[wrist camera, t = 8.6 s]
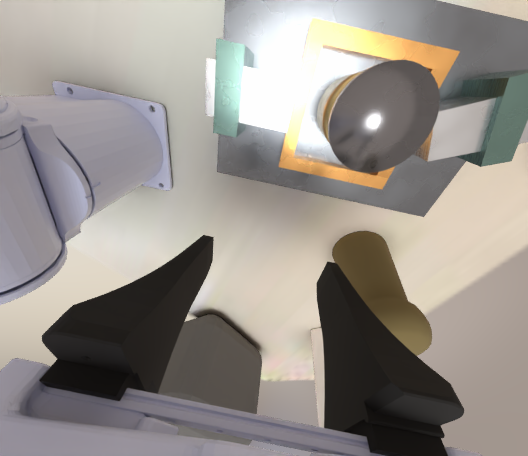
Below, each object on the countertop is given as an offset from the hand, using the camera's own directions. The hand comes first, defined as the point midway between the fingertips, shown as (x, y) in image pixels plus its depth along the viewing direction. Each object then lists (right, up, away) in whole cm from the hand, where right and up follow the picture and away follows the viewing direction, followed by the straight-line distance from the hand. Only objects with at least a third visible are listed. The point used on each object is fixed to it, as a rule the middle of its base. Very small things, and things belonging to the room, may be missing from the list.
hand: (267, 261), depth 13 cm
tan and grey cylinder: (+6, +11, +2) cm, 13 cm away
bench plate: (+6, +11, +4) cm, 13 cm away
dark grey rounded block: (-8, -18, +26) cm, 33 cm away
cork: (+11, -1, +11) cm, 16 cm away
